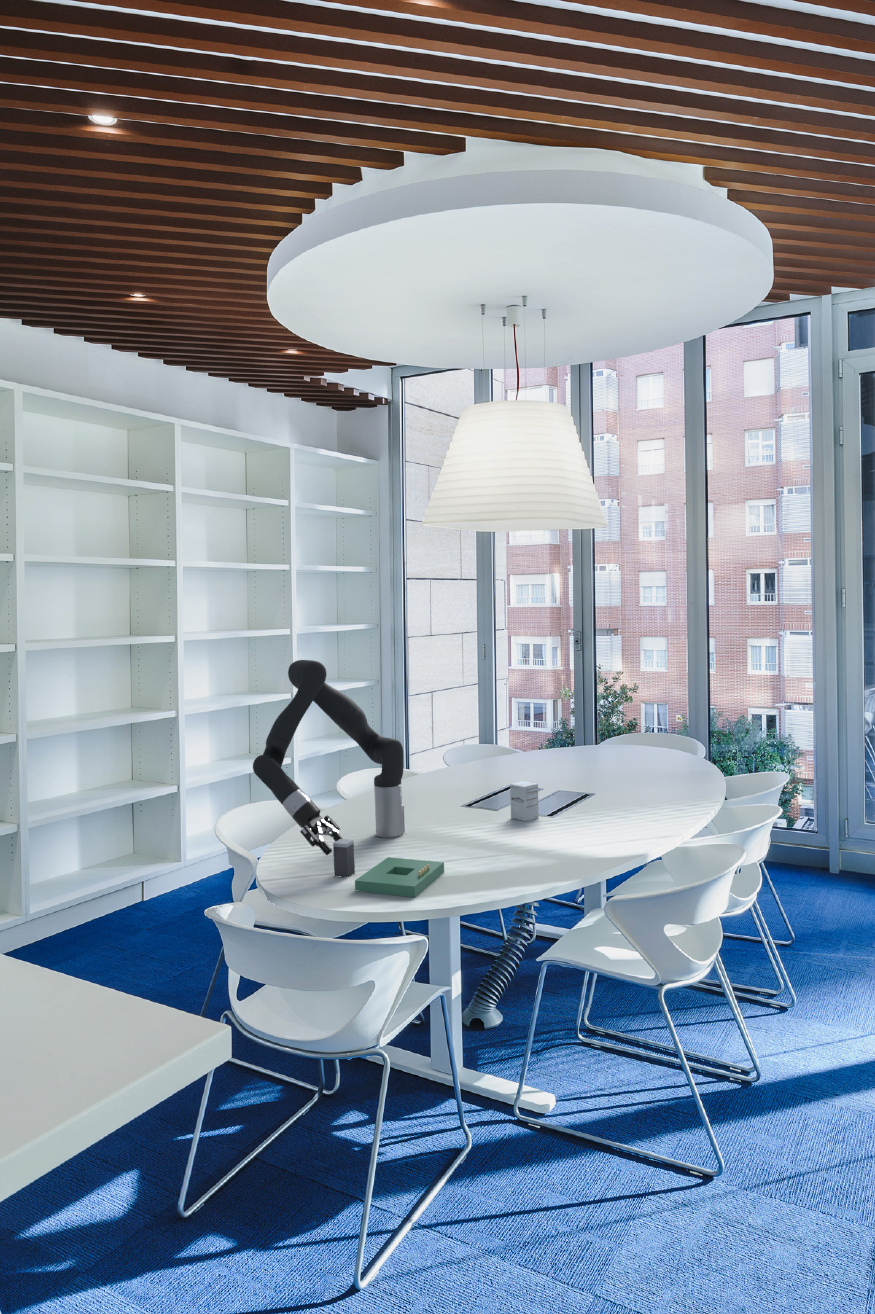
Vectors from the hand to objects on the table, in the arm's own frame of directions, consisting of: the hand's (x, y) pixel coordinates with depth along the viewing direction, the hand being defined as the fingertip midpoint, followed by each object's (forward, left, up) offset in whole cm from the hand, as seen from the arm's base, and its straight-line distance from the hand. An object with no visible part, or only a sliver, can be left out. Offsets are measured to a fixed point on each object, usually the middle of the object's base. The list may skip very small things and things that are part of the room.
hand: (336, 848), depth 258 cm
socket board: (-5, +20, -8) cm, 22 cm away
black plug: (-1, +2, -8) cm, 8 cm away
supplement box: (-82, +15, -8) cm, 83 cm away
